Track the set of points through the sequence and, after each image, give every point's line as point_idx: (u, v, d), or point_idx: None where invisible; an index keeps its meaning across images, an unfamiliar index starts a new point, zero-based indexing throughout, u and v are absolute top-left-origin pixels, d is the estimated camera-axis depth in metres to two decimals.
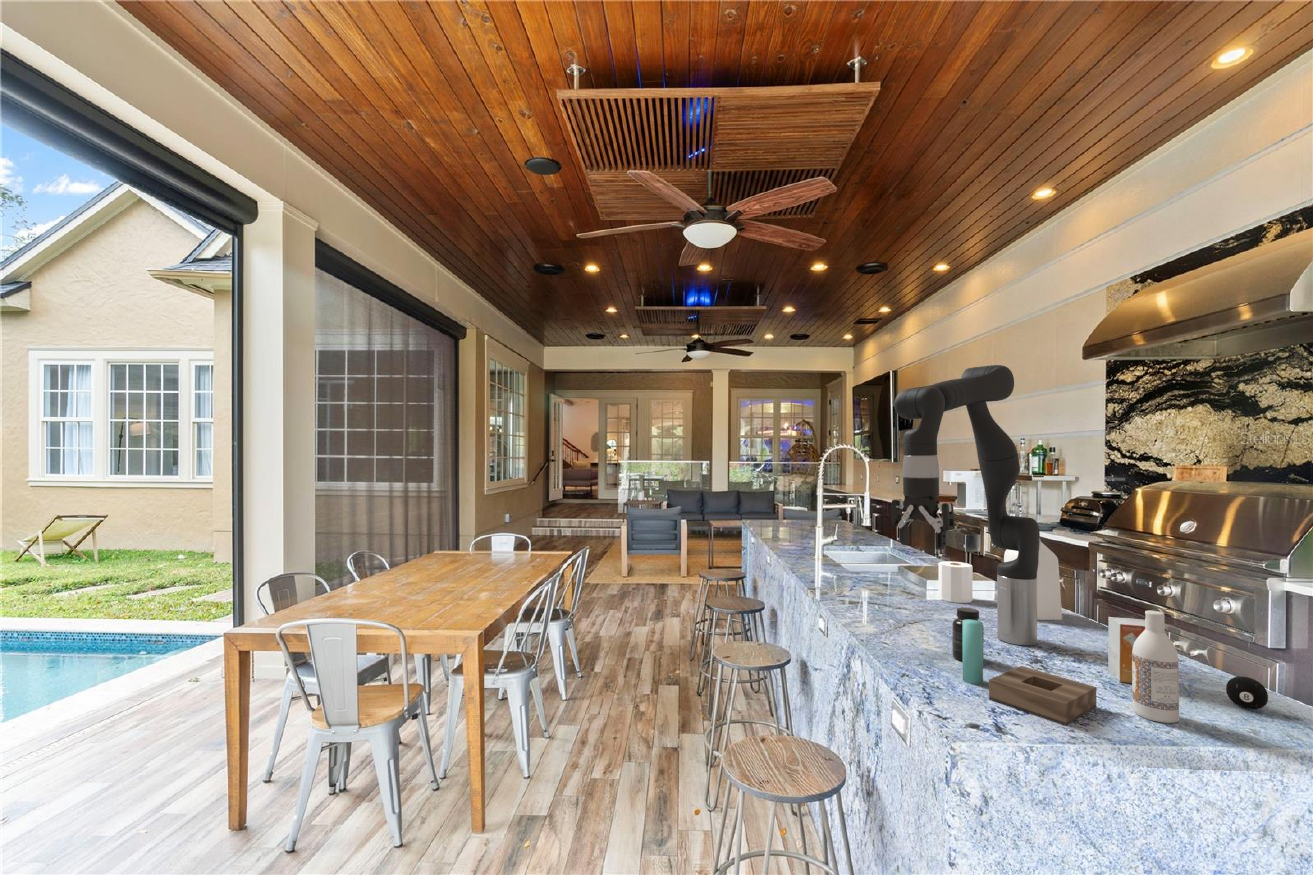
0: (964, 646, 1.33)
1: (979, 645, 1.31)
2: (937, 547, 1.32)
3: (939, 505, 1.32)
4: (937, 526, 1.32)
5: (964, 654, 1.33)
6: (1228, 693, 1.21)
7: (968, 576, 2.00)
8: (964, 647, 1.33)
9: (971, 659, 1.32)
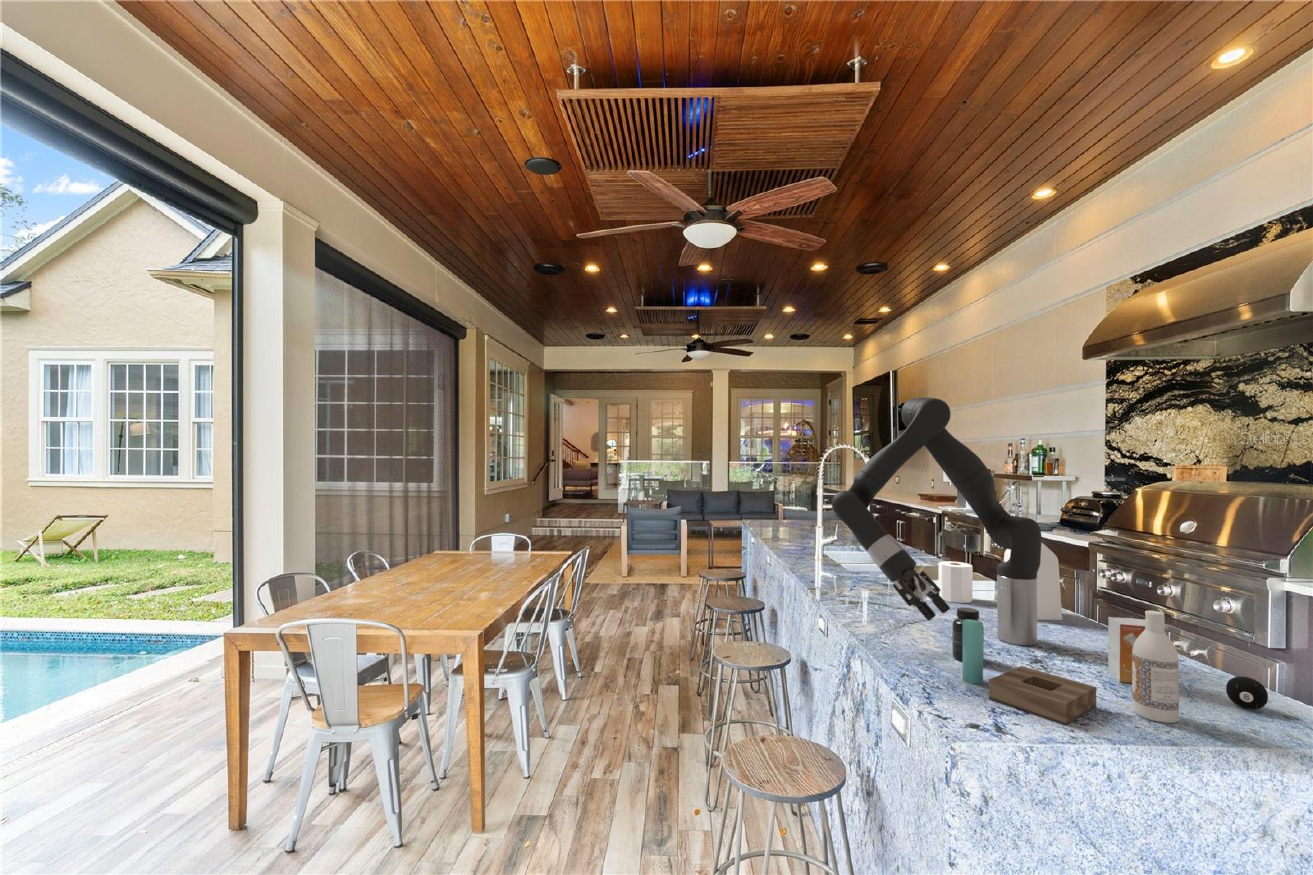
0: (964, 646, 1.33)
1: (979, 645, 1.31)
2: None
3: None
4: None
5: (964, 654, 1.33)
6: (1228, 693, 1.21)
7: (968, 576, 2.00)
8: (964, 647, 1.33)
9: (971, 659, 1.32)
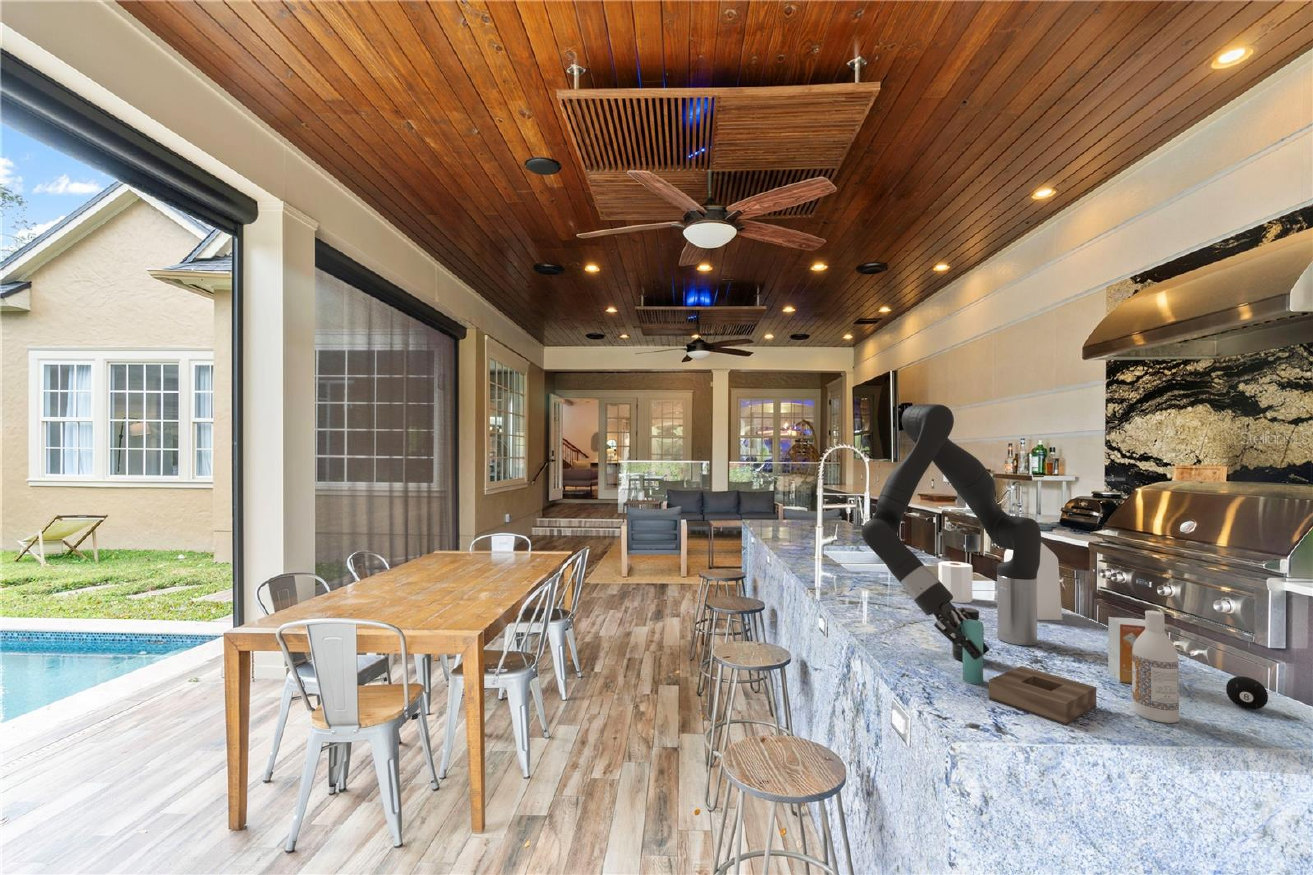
0: None
1: (979, 645, 1.31)
2: None
3: None
4: None
5: (964, 654, 1.33)
6: (1228, 693, 1.21)
7: (968, 576, 2.00)
8: None
9: (971, 659, 1.32)
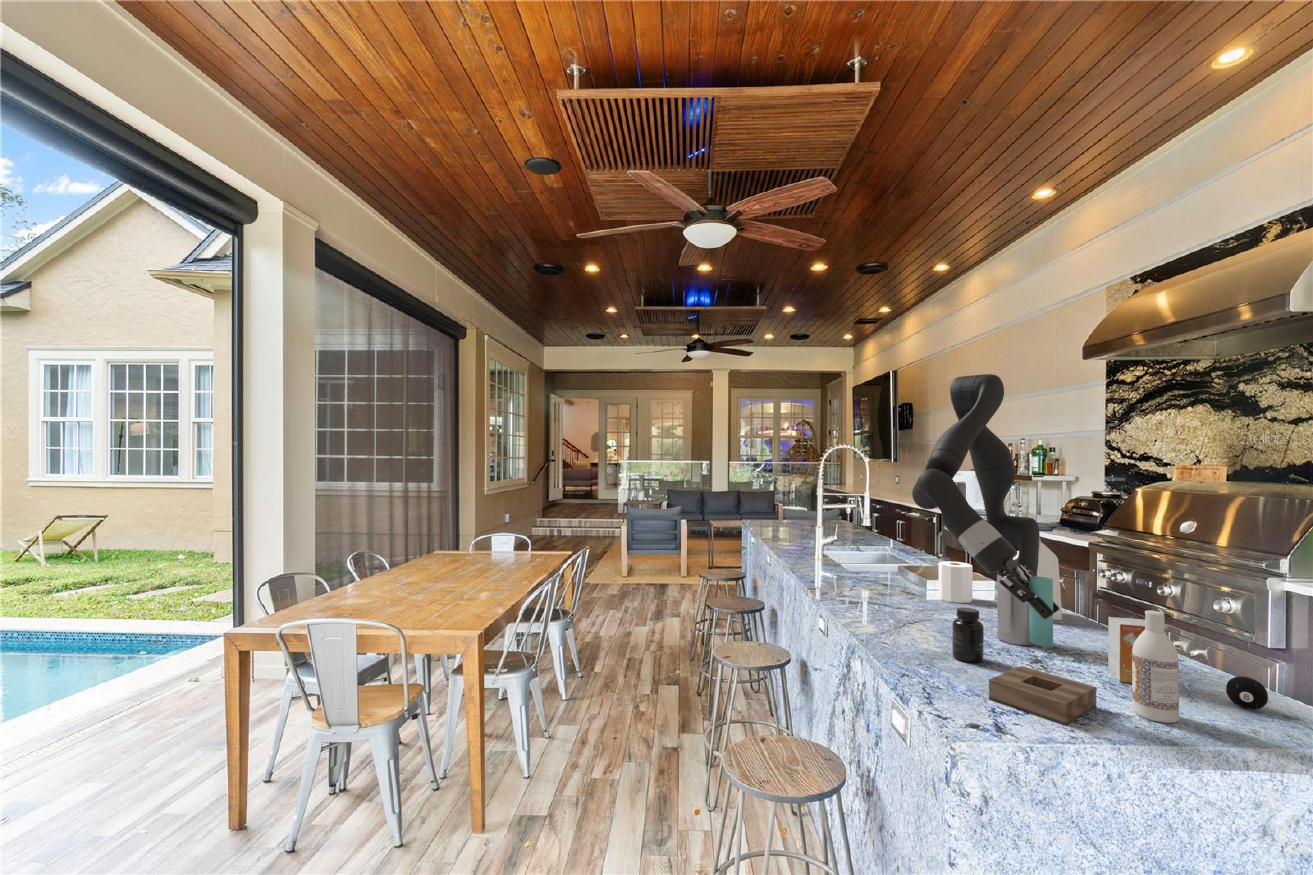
0: None
1: (1050, 603, 1.20)
2: None
3: None
4: None
5: (1032, 613, 1.22)
6: (1228, 693, 1.21)
7: (968, 576, 2.00)
8: None
9: (1040, 619, 1.20)
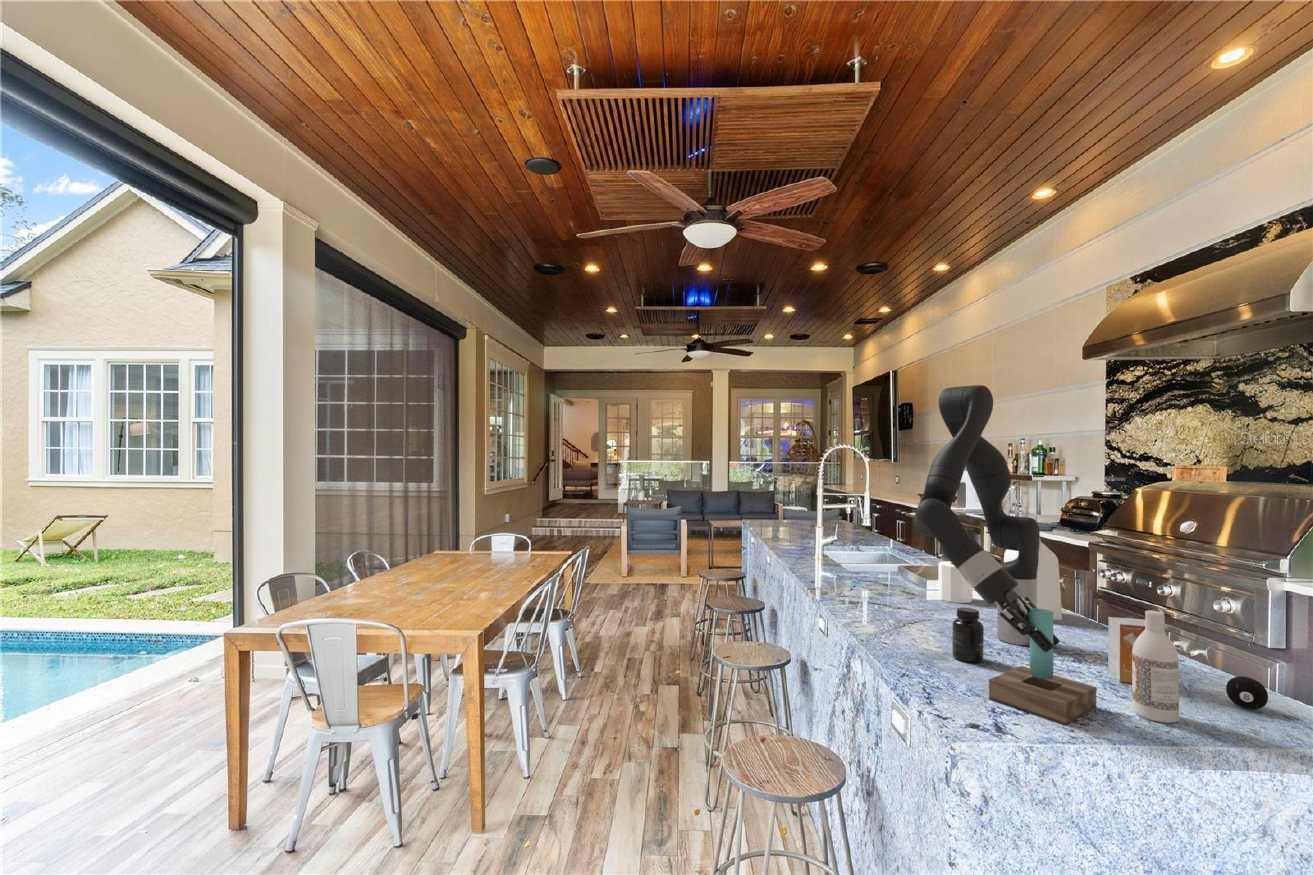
0: None
1: (1050, 636, 1.20)
2: None
3: None
4: None
5: (1032, 646, 1.21)
6: (1228, 693, 1.21)
7: None
8: None
9: (1041, 652, 1.20)
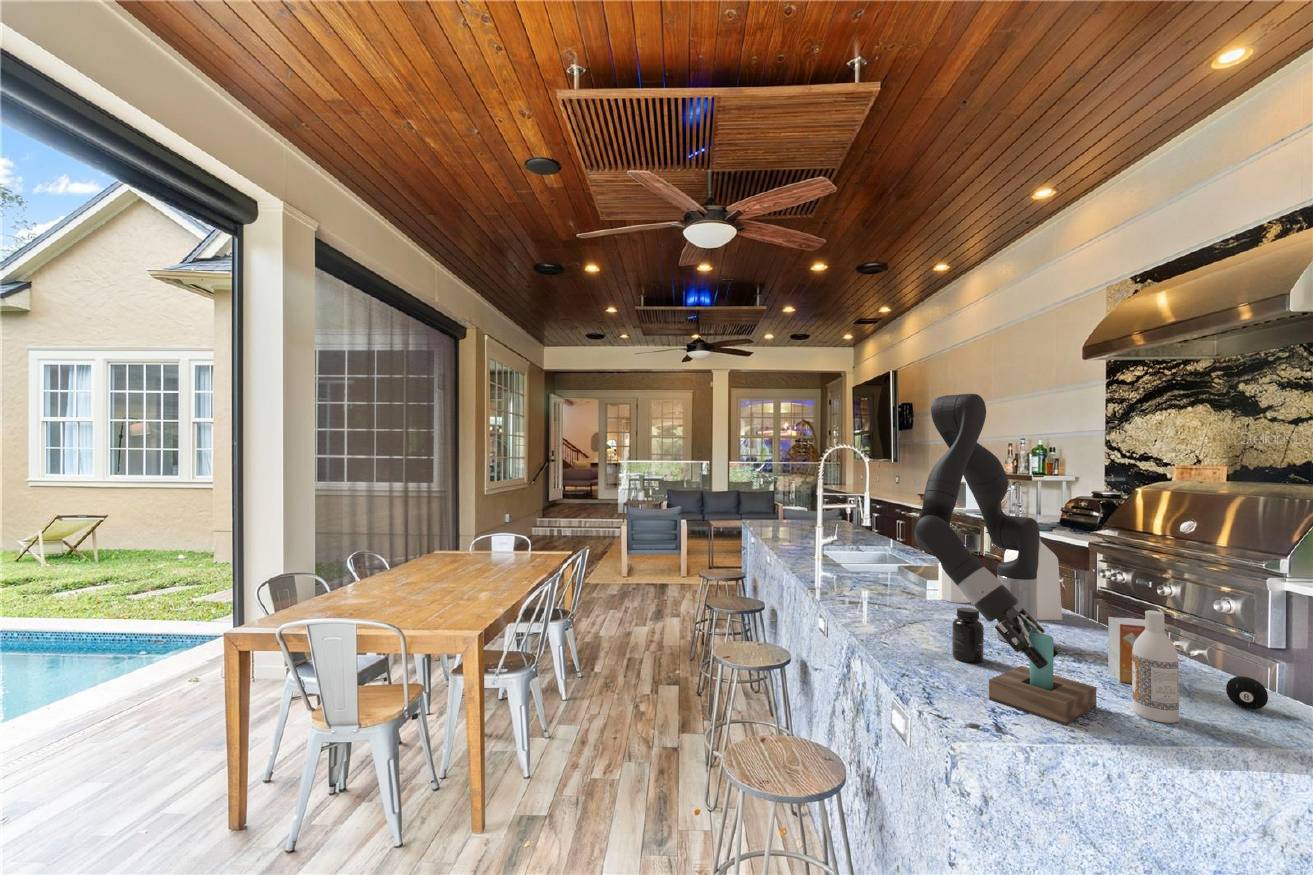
0: (1032, 662, 1.21)
1: (1050, 662, 1.20)
2: None
3: None
4: None
5: (1032, 671, 1.21)
6: (1228, 693, 1.21)
7: None
8: (1032, 664, 1.21)
9: (1041, 677, 1.20)
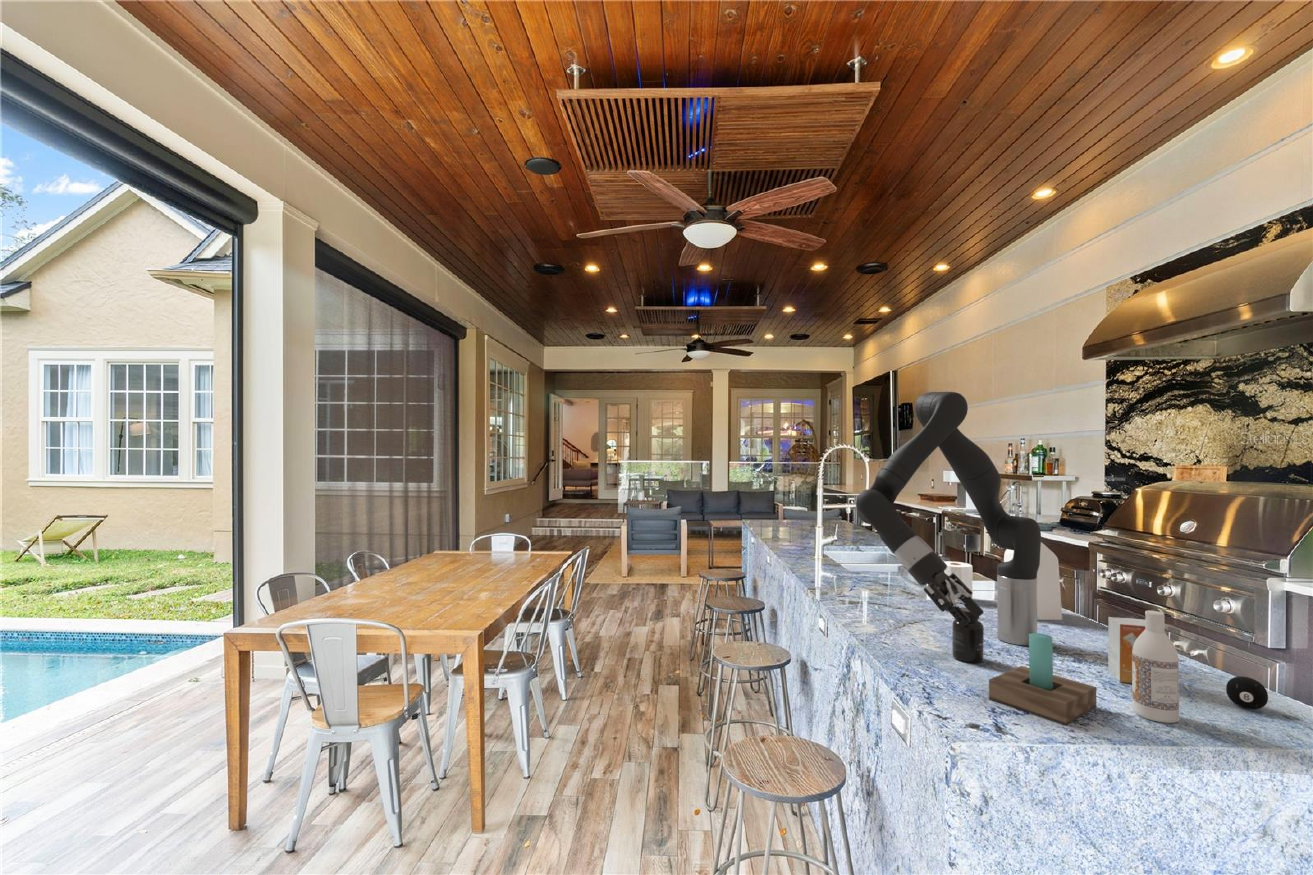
0: (1032, 662, 1.21)
1: (1049, 662, 1.20)
2: None
3: None
4: None
5: (1032, 671, 1.21)
6: (1228, 693, 1.21)
7: (968, 576, 2.00)
8: (1032, 664, 1.21)
9: (1040, 677, 1.20)
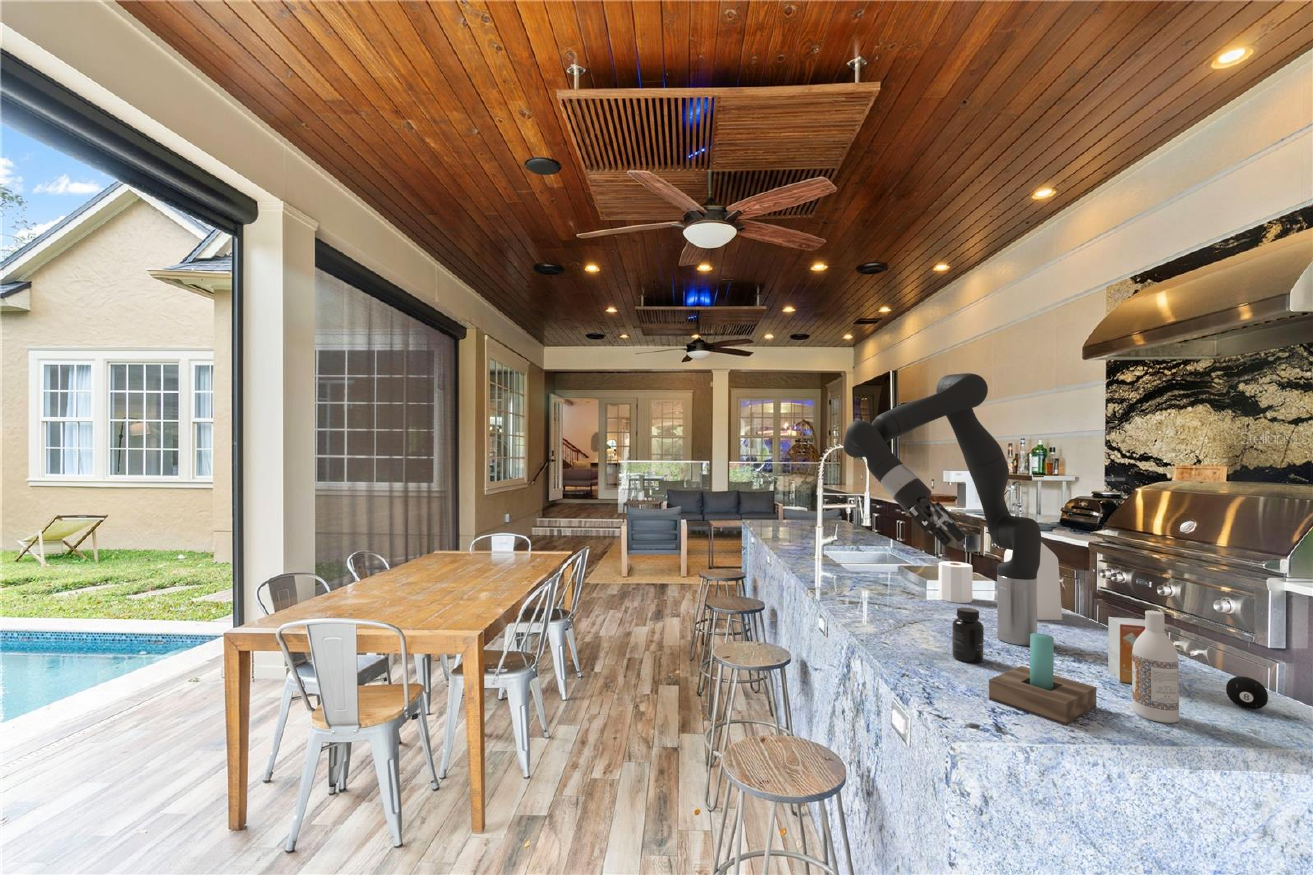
0: (1032, 662, 1.21)
1: (1050, 662, 1.20)
2: None
3: None
4: None
5: (1032, 671, 1.21)
6: (1228, 693, 1.21)
7: (968, 576, 2.00)
8: (1032, 664, 1.21)
9: (1041, 677, 1.20)
